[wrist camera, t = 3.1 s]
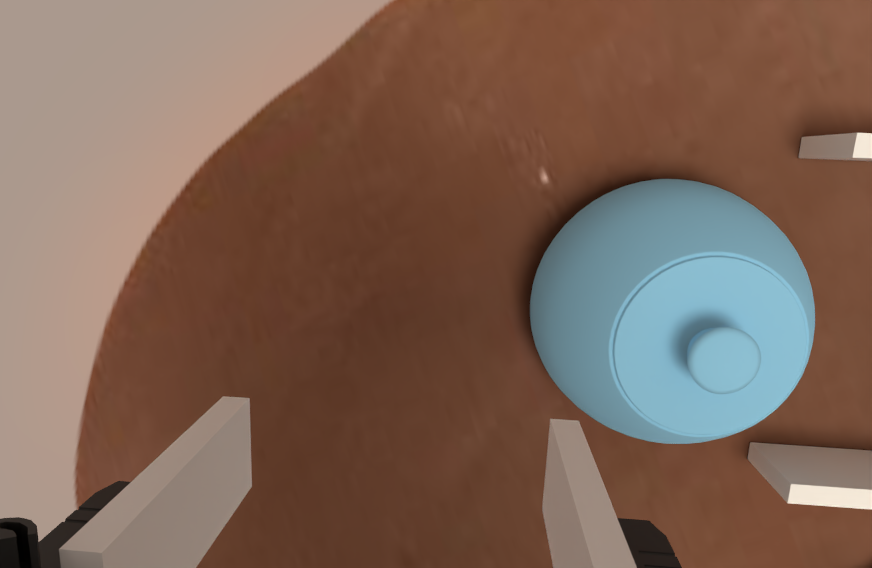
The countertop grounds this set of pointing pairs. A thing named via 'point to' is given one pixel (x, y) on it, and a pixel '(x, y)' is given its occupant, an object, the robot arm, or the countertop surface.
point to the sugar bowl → (673, 312)
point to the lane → (806, 465)
